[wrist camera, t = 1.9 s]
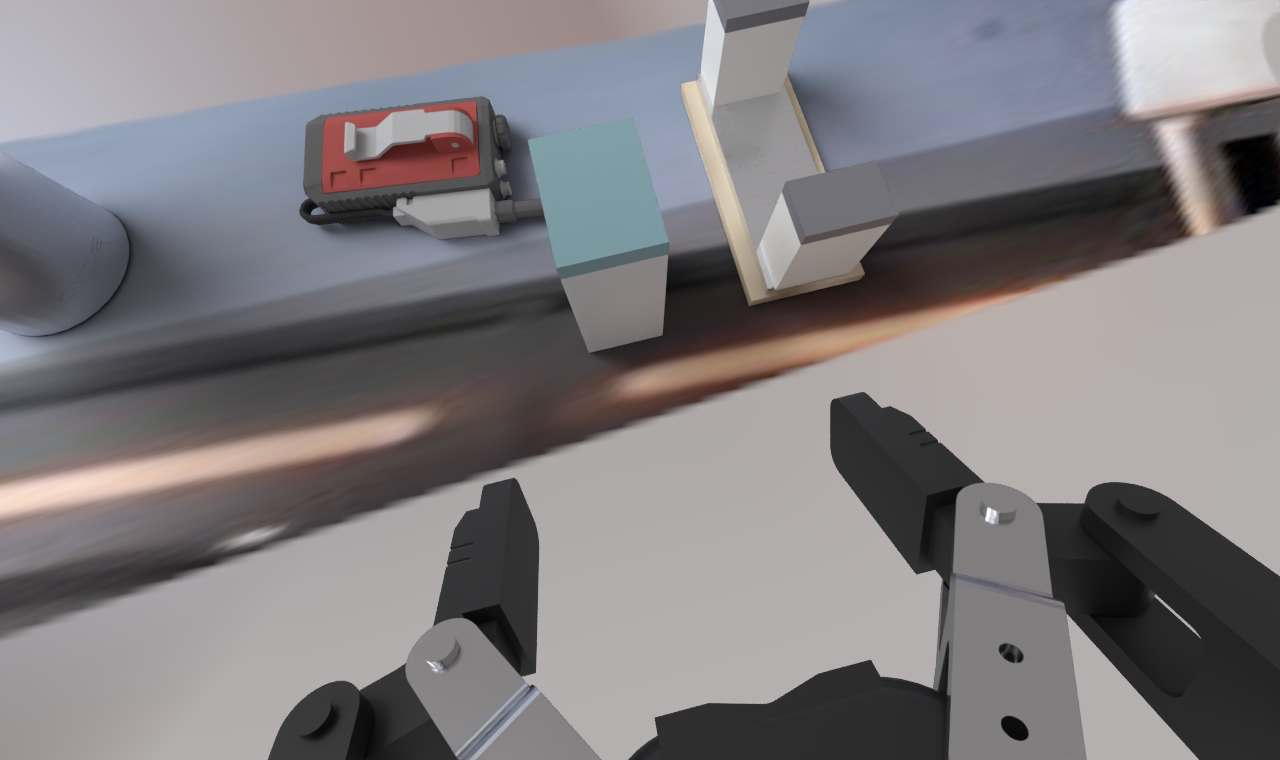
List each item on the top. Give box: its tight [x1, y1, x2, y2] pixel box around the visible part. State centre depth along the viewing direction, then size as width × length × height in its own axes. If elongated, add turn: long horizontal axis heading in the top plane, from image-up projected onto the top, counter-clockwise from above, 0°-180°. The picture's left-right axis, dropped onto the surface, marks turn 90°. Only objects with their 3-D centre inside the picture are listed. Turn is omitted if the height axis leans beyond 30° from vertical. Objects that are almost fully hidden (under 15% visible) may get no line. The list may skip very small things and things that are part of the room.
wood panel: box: [681, 74, 865, 306], centre depth 33 cm, size 7×16×1 cm, turn 14°
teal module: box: [528, 117, 669, 353], centre depth 26 cm, size 4×6×11 cm
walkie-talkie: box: [299, 97, 544, 240], centre depth 32 cm, size 9×4×20 cm
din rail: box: [695, 72, 854, 294], centre depth 32 cm, size 5×16×1 cm, turn 14°
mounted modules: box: [701, 0, 899, 290], centre depth 29 cm, size 4×16×6 cm, turn 14°
